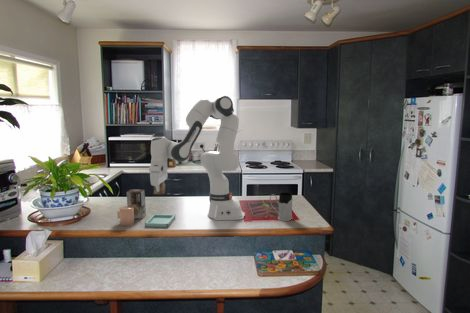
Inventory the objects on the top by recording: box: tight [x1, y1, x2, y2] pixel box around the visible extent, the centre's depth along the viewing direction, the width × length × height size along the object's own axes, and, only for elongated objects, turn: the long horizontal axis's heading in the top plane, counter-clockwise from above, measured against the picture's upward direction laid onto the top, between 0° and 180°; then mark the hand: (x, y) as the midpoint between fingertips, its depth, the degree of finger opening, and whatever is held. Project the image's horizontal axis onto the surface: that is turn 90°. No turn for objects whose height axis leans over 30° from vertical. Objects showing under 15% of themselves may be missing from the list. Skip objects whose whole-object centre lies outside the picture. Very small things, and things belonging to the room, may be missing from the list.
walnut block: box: [153, 183, 166, 195], centre depth 184 cm, size 5×5×5 cm
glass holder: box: [269, 192, 293, 222], centre depth 195 cm, size 9×14×15 cm, turn 64°
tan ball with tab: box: [116, 205, 135, 227], centre depth 184 cm, size 9×8×9 cm
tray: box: [144, 213, 176, 228], centre depth 187 cm, size 13×16×2 cm
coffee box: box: [126, 188, 147, 219], centre depth 195 cm, size 9×6×16 cm
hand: (159, 190), depth 185 cm, fingers closed on walnut block, 5 cm apart
